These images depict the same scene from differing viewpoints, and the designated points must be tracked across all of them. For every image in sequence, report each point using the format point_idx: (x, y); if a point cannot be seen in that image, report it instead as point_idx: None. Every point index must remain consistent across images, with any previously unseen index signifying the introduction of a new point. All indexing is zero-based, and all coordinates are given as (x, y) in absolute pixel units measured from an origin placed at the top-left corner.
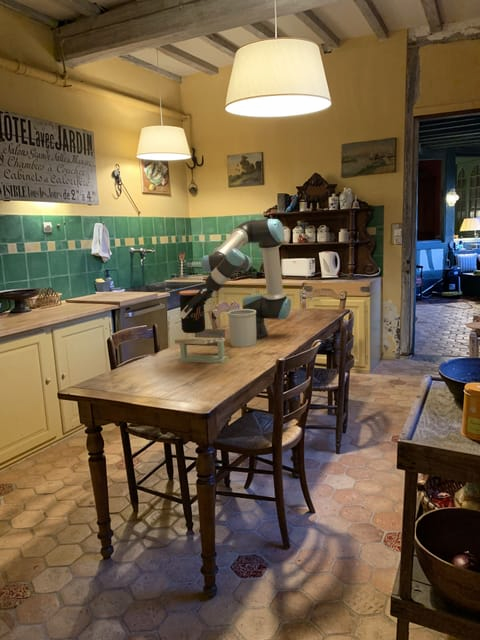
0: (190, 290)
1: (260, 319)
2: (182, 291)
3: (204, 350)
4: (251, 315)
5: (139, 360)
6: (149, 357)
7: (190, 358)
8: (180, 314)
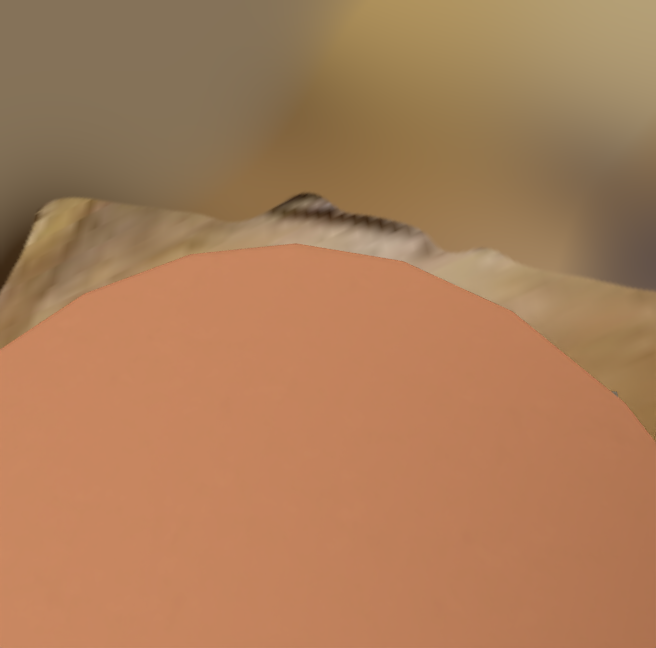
0: (546, 519)
1: None
2: (278, 304)
3: None
4: None
5: (356, 235)
6: (398, 248)
7: None
8: None
